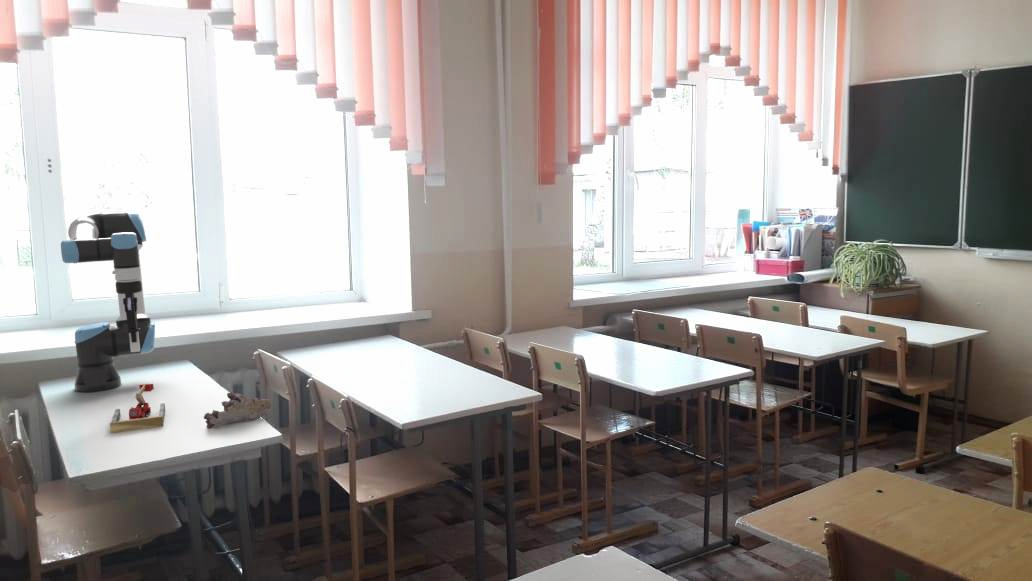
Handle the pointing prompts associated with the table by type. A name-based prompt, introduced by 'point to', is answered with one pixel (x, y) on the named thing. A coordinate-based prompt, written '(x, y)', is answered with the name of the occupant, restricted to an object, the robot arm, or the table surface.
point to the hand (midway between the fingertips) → (135, 351)
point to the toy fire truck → (141, 403)
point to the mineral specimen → (238, 410)
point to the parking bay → (136, 421)
